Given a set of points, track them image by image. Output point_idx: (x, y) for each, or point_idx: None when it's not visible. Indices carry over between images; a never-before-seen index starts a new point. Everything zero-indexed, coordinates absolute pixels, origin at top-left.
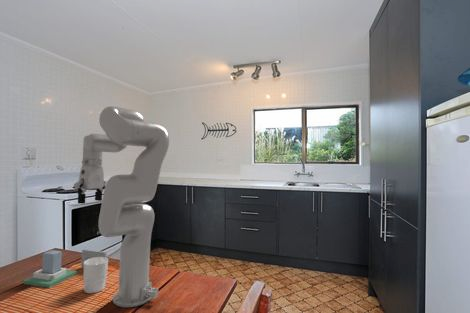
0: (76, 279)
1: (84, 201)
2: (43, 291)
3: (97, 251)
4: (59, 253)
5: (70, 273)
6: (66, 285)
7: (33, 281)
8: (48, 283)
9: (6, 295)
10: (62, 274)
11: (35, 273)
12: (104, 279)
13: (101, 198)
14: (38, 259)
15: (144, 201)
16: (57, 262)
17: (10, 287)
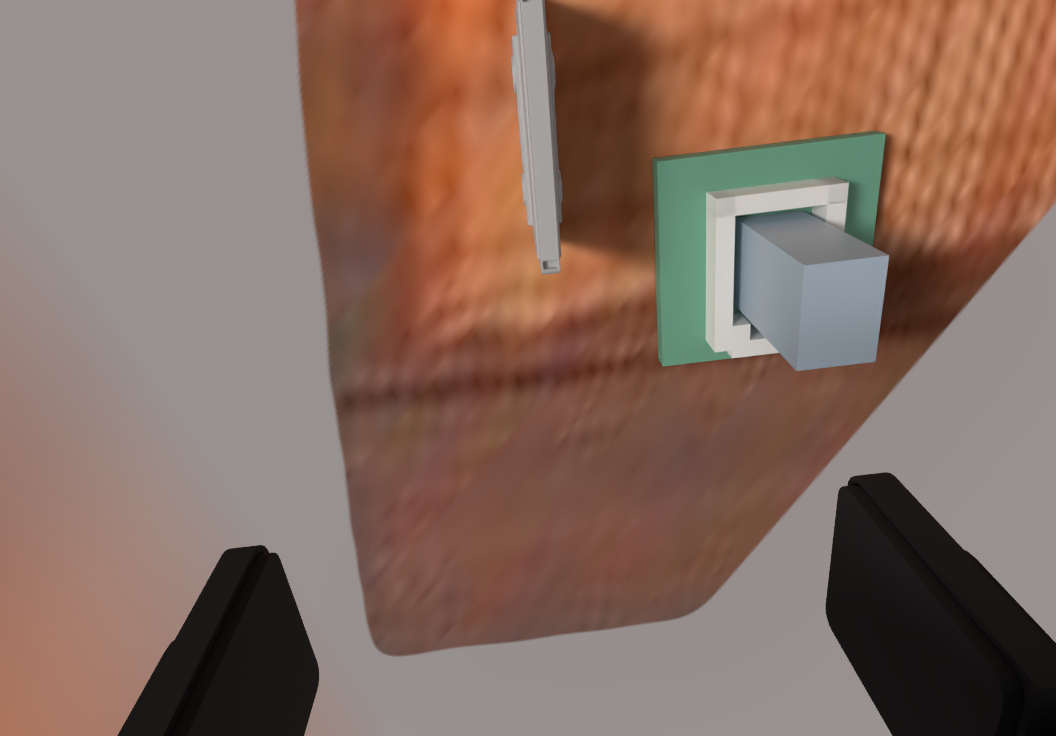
0: (725, 74)
1: (905, 496)
2: (923, 116)
3: (541, 98)
4: (824, 258)
5: (705, 166)
6: (823, 51)
7: None
8: (874, 154)
9: (989, 268)
10: (751, 188)
11: None
12: None
13: (222, 581)
14: (548, 585)
15: None
16: (808, 238)
17: (901, 348)
